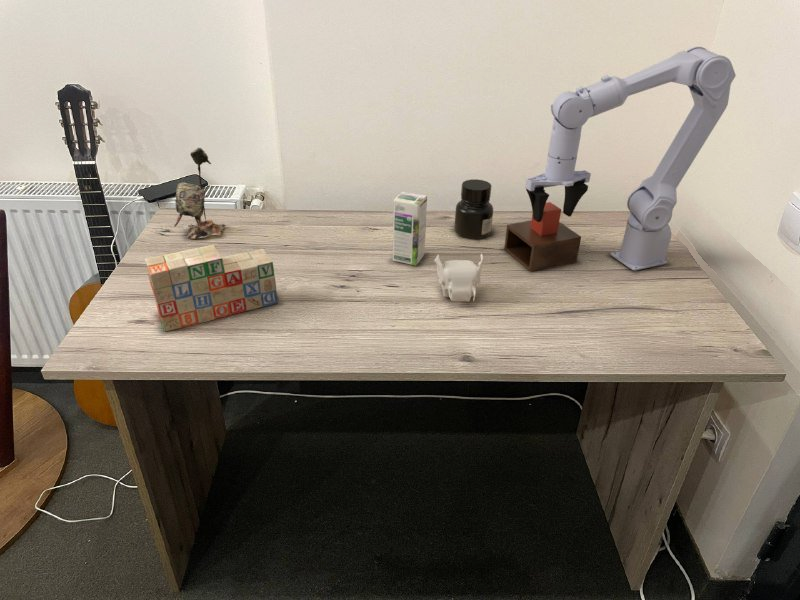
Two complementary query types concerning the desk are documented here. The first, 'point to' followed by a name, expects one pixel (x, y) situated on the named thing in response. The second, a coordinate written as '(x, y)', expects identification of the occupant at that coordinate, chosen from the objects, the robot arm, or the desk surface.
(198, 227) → the brown bird figurine
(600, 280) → the desk surface
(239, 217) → the desk surface
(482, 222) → the ink bottle
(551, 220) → the block
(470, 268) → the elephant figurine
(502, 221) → the desk surface
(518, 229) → the brown open wooden box
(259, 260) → the stack of blocks
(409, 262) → the syrup box
